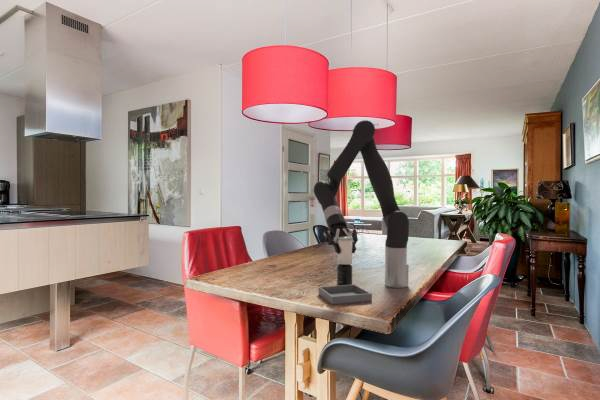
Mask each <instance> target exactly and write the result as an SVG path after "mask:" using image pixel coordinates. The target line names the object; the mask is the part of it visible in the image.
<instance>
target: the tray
mask: <svg viewBox="0 0 600 400" xmlns="http://www.w3.org/2000/svg"><path fill="white" fill-rule="evenodd" d="M318 295H319V296H320V297H321V298H322V299H324V300H325V301H327V302H328V303H329V304H330V305H331V306H340V305H341V306H342V305H349V304H351V305H352V304H360V303H362V304H363V303H372V301H373V300H372V299H373V293H372V292H370V291H367V290H366V289H365V288H362V287H360V286H358V285H357V284H354V283H353V284H352V285H340V286H338V285H332V286H331V285H330V286H328V285H327V286H318Z"/></svg>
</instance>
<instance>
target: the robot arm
mask: <svg viewBox="0 0 600 400" xmlns="http://www.w3.org/2000/svg"><path fill="white" fill-rule="evenodd" d="M375 132H376V127H375V125H374V123H373V122H372V121H370V120H366V119H365V120H361V121H359V122H357V123H356V124H355V125H354V127H353V130H352V135H351V137H350V139H349V140H348V142H347V144H346V146H345V147H344V149H343V150H342V151H341V153H340V154H339V155H338V157H337V158H336V160H335V161H334V162H333V163H332V165H331V166H330V169H329V170H328V171H327V173H326V176H327V178H328V179H329V182H326V181H325V180H319V181H317V182H316V183H315V184H314V186H313V194H314V196H315V198H316V199H317V202H318V203H319V204H320V206H321V209H322V212H323V215H324V219H325V221H326V225H327V229H328V230H327V229H325V230H324V232H323V234H322V235H323V236H322V237H324V239H325V241H326V243H327V245H328V246H332V247H333V249H334V251H335V253H336V254H337V255H338V254H340V252H341V249H340V246H339V244H338V239H337V237H339V236H349V237H353V240H352V254H355V253H356V251H357V247H356V244H357V243H358V241H359V237H358V233H357V230H356V229H355V228H353V229H349V228H348V225H347V222H346V219H345V217H344V214H343V211H342V210H341V208H340V205H339V203H338V201H337V199H336V196H337V194H338V190H339V187H340V185H341V182H342V180H343V179H344V177H345V176H346V174H347V173H348V171H349V170H350V167H351V166H352V164H353V163H354V161H355V159H356V158H357V156H358V155H359V153H360V155H361V157H362V160H363V164H364V167H365V170H366V174H367V177H368V180H369V182H370V183H369V184H370V185H371V187H372V189H373V193H374V195H375V196H376V199H377V201H378V202H379V203H378V204H379V205H380V210H381V213H382V218H383V222H384V225H385V227H386V230H387V231H386V239H385V242H384V244H385V245H384V247H385V248H384V249H385V251H384V252H385V253H384V265H385V266H384V286H386V287H389V288H395V289H403V288H406V287H409V271H410V270H409V264H408V260H407V258H408V253H407V252H408V243H409V232H410V230H409V229H410V220H409V216H408V215H407V214H406V213H405V212H404V211H401V209H400V208H399V205H398V203H397V200H396V197H395V192H394V191H395V190H394V183H393V179H392V175H391V173H390V171H389V168H388V165H387V164H386V162H385V160H384V158H382V157H383V156H381V154H380V152H379V150H378V148H377V145H376V142H375V139H374V137H375V134H376V133H375ZM331 236H332V237H333V238H332V237H331Z"/></svg>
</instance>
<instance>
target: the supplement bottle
mask: <svg viewBox="0 0 600 400" xmlns="http://www.w3.org/2000/svg"><path fill="white" fill-rule="evenodd" d="M340 285H353V265H352V264H338V263H337V266H336V286H340Z"/></svg>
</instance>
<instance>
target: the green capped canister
mask: <svg viewBox="0 0 600 400" xmlns="http://www.w3.org/2000/svg"><path fill="white" fill-rule="evenodd" d="M337 239H338V242H337V243H338V244H339V246H340V249H341V252H340V254H337V265H338V264H350V265H352V264H353V253H352V240H353V237H352V236H351V237H349V236H339V237H337Z"/></svg>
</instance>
